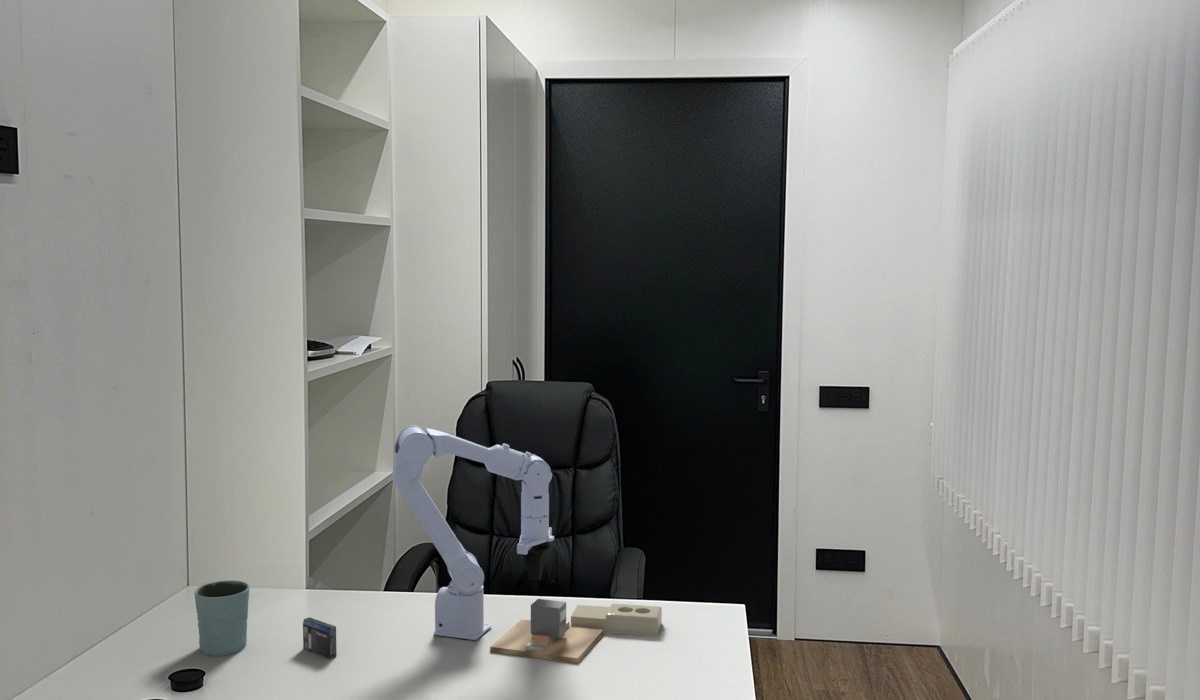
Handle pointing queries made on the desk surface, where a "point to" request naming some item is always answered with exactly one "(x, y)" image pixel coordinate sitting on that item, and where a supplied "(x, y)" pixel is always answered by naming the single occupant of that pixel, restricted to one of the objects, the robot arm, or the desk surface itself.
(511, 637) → the mounting board
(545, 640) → the din rail
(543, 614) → the block
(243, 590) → the teal cup
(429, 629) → the desk surface
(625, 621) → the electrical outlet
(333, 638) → the mini dv tape
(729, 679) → the desk surface
